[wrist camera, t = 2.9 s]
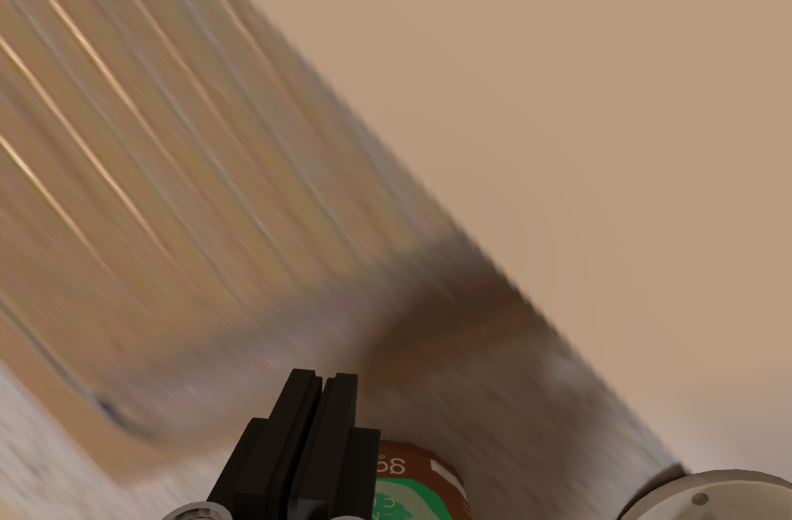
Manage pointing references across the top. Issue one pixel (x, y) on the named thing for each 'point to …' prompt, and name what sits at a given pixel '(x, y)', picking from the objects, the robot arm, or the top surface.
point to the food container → (417, 485)
